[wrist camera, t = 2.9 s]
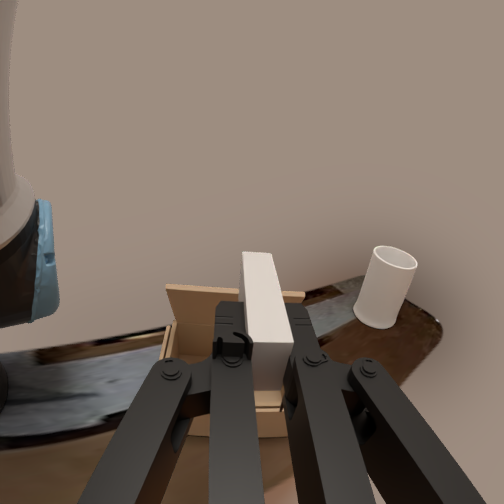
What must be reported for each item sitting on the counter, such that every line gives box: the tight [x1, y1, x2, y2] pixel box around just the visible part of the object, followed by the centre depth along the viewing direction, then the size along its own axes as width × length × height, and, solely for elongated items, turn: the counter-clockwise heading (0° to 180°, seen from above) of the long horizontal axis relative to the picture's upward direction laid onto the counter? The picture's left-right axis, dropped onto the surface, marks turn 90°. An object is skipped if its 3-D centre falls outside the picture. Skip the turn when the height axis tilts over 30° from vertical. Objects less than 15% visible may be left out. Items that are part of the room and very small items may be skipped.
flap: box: [166, 284, 305, 325], centre depth 31 cm, size 13×1×10 cm, turn 93°
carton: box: [159, 320, 288, 438], centre depth 31 cm, size 15×13×6 cm
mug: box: [353, 246, 417, 329], centre depth 48 cm, size 12×8×12 cm
